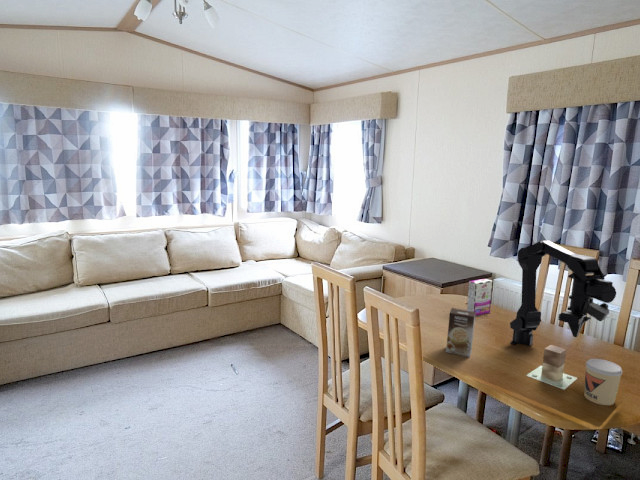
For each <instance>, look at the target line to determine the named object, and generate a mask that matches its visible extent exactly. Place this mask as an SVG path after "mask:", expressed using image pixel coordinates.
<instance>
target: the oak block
mask: <svg viewBox="0 0 640 480" xmlns="http://www.w3.org/2000/svg"><path fill="white" fill-rule="evenodd" d="M541 366H542V374H541V376H542V377H545V378H547V379H550V380H553V381H555V382H557V381H559V380H560V379H561V378H562V377H563V373H564V371H565V370H564V369H565V364H563V365H562V366H560V367H559V368H557V367H555V366H552V365H549V364H546V363H543V362H542V365H541Z"/></svg>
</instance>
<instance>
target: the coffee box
mask: <svg viewBox="0 0 640 480" xmlns="http://www.w3.org/2000/svg"><path fill="white" fill-rule="evenodd" d="M475 321H476V316H475V312H472V311H467V309H466V310H465V309H460V308H454V307H451V309H450V311H449V318H448V328H447V337H446V338H447V339H446V349H445V353H450V354H454V355H457V356H458V355H459V356H463V357H468V358H470V357H471V355H472V354H471V353H472V349H473V341H474V330H475V329H474V328H475Z"/></svg>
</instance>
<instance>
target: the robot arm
mask: <svg viewBox="0 0 640 480" xmlns="http://www.w3.org/2000/svg"><path fill="white" fill-rule="evenodd" d="M547 255H548V256H550V257H552V258H554V259H556V260H557V261H560V262H561V263H563V264H565V265H566V266H567V268H568V269H569V271H571V272H572V273H570V274H569V275H568V276H567V278H569V279H572V287H571V294H570V295H568V299H570V301H569V305H568V306H567V309H566V310H565V311H562V312H561V313H559V314H558V319H557V320H558V321H560V322H564V323H567V324H568V327H569V329H570V331H571V335H572V337H574V338H577V337H578V336H579V335H580V332H581V330H582V328H583V326H584V324H585V323H586V322H588V321H590V320H591V317H593V318H594V319H595V320H597V321H598V322H603V321H604V320H605V319H606V318H607V316H608V315H609V314H610V309H609V304H610V303H612V302H613V301H614V300H615V298H616V297H617V296H616V295H617V291H616V288H615V286H614V285H613V281H609V280H605V277H604V274H603V271H602V269H601V268H600V266H599V262H598V259H596V258H595V257H593V256H589V255H583V254H577V253H576V252H575V253H574V252H572V251H571V250H568V249H566V248H565V247H563V246H561V245H558V244H556V243H554V242H553V241H551V240H549V239H548V240H539V241H537V242H535V243H533V244H530V245H528V246H525V247H520V248H519V250H518V251H517V260H518V261H517V262H518V265H519V266H520V268H521V269H522V271H521V272H522V275H521V277H522V278H521V280H522V281H521V305H520V307H519V308H518V310H517V311H516V318H515V319H513V320H512V321H511V322H510V323H509V325H510V327H509V328H510V329H511V330H513V331H512V339H511V341H510V344H512V345H516V346H517V345H518V344H519V345H524V346H527V347H530V346H532V345H533V341H534V334H533V331H537V328H538V327H539V326H540V324H541V322H542V318H541V317H542V312H541V310H540V311H539V310H538V309H537V307H536V300H537V297H536V296H537V295H536V292H537V270H538V268H539V266H540V265H541V263H542V258H543V257H546V256H547ZM594 300H597V301H600V302H603V303H601V304H599V303H596V302H594ZM587 315H589V316H591V317H588V316H587Z"/></svg>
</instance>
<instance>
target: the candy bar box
mask: <svg viewBox="0 0 640 480" xmlns="http://www.w3.org/2000/svg"><path fill="white" fill-rule="evenodd" d="M467 290H468V291H467V304H466V306H467V307H466V310H467V311H472V312H475V317H477V316H482V315H487V314H491V305H492V304H491V303H492V295H493V294H492V293H493V280H492V279H488V278H482V279H481V278H480V279H475V280H469V281H468V289H467Z"/></svg>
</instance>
